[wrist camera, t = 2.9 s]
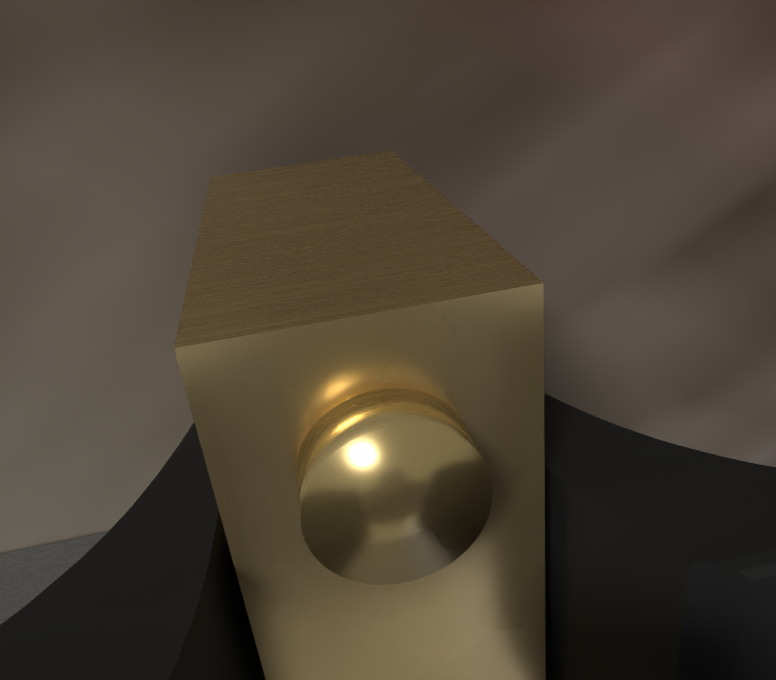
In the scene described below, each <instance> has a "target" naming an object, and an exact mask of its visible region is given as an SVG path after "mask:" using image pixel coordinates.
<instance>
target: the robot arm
mask: <svg viewBox="0 0 776 680" xmlns="http://www.w3.org/2000/svg"><path fill="white" fill-rule="evenodd" d="M544 452H545V651H546V680H776V467H770V466H764V465H759V464H754V463H749V462H744V461H739V460H735V459H730V458H725V457H721V456H717V455H713V454H709V453H706V452H702V451H698V450H694V449H690V448H686V447H682V446H678V445H675V444H672V443H668V442H665V441H661V440H658V439H655V438H652V437H649V436H646V435H643V434H640V433H637V432H635V431H632V430H629V429H626V428H623V427H620V426H617V425H615V424H612V423H609V422H607V421H604V420H602V419H599V418H597V417H595V416H592V415H590V414H588V413H586V412H583V411H581V410H579V409H576V408H574V407H572V406H570V405H567V404H565V403H563V402H561V401H559V400H557V399H555V398H553V397H551V396H549V395H547V394H545V393H544ZM0 680H266V679H265V675H264V672H263V668H262V664H261V661H260V657H259V654H258V650H257V646H256V643H255V639H254V636H253V632H252V628H251V625H250V621H249V618H248V614H247V610H246V607H245V603H244V599H243V596H242V592H241V589H240V585H239V581H238V578H237V574H236V571H235V567H234V563H233V560H232V556H231V553H230V549H229V545H228V542H227V538H226V534H225V531H224V527H223V524H222V520H221V516H220V513H219V509H218V506H217V502H216V498H215V495H214V491H213V487H212V484H211V480H210V477H209V473H208V469H207V466H206V462H205V459H204V455H203V451H202V448H201V444H200V441H199V437H198V433H197V430H196V426H195V422H194V423H193V425H192V426H191V428H190V429H189V431H188V432H187V434H186V435H185V437H184V438H183V440H182V441H181V443H180V444H179V446H178V447H177V448H176V450H175V451H174V453H173V454H172V455H171V457H170V458H169V460H168V461H167V462H166V464H165V465H164V467H163V468H162V469H161V471H160V472H159V473H158V475H157V476H156V477H155V479H154V480H153V481H152V482H151V484H150V485H149V486H148V487H147V489H146V490H145V491H144V492H143V493H142V495H141V496H140V497H139V498H138V500H137V501H136V502H135V503H134V505H133V506H132V507H131V508H130V509H129V510H128V511H127V512H126V514H125V515H124V516H123V517H122V518H121V519H120V520H119V521H118V522H117V523H116V524H115V525H114V526H113V527H112V529H111V530H110V531H109V532H107V533H106V534H105V535H104V536H103V537H102V538H101V539H100V540H99V541H98V542H97V543H96V544H95V545H94V546H93V547H92V548H91V549H90V550H89V551H88V552H87V553H86V554H85V555H84V556H83V557H82V558H81V559H80V560H79V561H78V562H76V563H75V564H74V565H73V566H72V567H70V568H69V569H68V570H67V571H66V572H65V573H63V574H62V575H61V576H60V577H59V578H58V579H56V580H55V581H54V582H53V583H52V584H50V585H49V586H48V587H47V588H46V589H45V590H43V591H42V592H41V593H40V594H39V595H38V596H36V597H35V598H34V599H33V600H32V601H30V602H29V603H28V604H27V605H26V606H24V607H23V608H22V609H21V610H19V611H18V612H17V613H15V614H14V615H13V616H11V617H10V618H9V619H7V620H6V621H5V622H3V623H2V624H1V625H0Z"/></svg>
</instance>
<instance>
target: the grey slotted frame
mask: <svg viewBox="0 0 776 680" xmlns="http://www.w3.org/2000/svg"><path fill="white" fill-rule="evenodd" d="M106 533H107V532H105V533H100V534H95V535H90V536H85V537H80V538H76V539H71V540H66V541H61V542H56V543H51V544H46V545H42V546H37V547H32V548H27V549H22V550H17V551H13V552H8V553H3V554H0V625H1V624H2V623H3V622H5V621H6V620H7V619H9V618H10V617H11V616H13V615H14V614H15V613H17V612H18V611H19V610H21V609H22V608H23V607H24V606H26V605H27V604H28V603H29V602H30V601H32V600H33V599H34V598H35V597H36V596H38V595H39V594H40V593H41V592H42V591H43V590H45V589H46V588H47V587H48V586H49V585H50V584H52V583H53V582H54V581H55V580H56V579H58V578H59V577H60V576H61V575H62V574H63V573H65V572H66V571H67V570H68V569H69V568H70V567H72V566H73V565H74V564H75V563H76V562H78V561H79V560H80V559H81V558H82V557H83V556H84V555H85V554H86V553H87V552H88V551H89V550H90V549H91V548H92V547H93V546H94V545H95V544H96V543H97V542H98V541H99V540H100V539H101V538H102V537H103V536H104V535H105V534H106Z"/></svg>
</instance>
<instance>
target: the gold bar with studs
mask: <svg viewBox="0 0 776 680" xmlns="http://www.w3.org/2000/svg"><path fill="white" fill-rule="evenodd" d="M174 350H175V354H176V357H177V361H178V365H179V368H180V372H181V376H182V379H183V383H184V386H185V390H186V394H187V397H188V401H189V404H190V408H191V412H192V415H193V419H194V422H195V426H196V430H197V433H198V437H199V441H200V444H201V448H202V451H203V455H204V459H205V462H206V466H207V469H208V473H209V477H210V480H211V484H212V487H213V491H214V495H215V498H216V502H217V506H218V509H219V513H220V516H221V520H222V524H223V527H224V531H225V534H226V538H227V542H228V545H229V549H230V553H231V556H232V560H233V563H234V567H235V571H236V574H237V578H238V581H239V585H240V589H241V592H242V596H243V599H244V603H245V607H246V610H247V614H248V618H249V621H250V625H251V628H252V632H253V636H254V639H255V643H256V646H257V650H258V654H259V657H260V661H261V664H262V668H263V672H264V675H265V679H266V680H546V651H545V452H544V283H543V282H542V281H541V280H540V279H538V278H537V277H536V276H535V275H534V274H533V273H532V272H530V271H529V270H528V269H527V268H526V267H525V266H523V265H522V264H521V263H520V262H519V261H518V260H517V259H515V258H514V257H513V256H512V255H511V254H510V253H509V252H507V251H506V250H505V249H504V248H503V247H502V246H500V245H499V244H498V243H497V242H496V241H495V240H494V239H492V238H491V237H490V236H489V235H488V234H487V233H485V232H484V231H483V230H482V229H481V228H480V227H479V226H477V225H476V224H475V223H474V222H473V221H472V220H470V219H469V218H468V217H467V216H466V215H465V214H464V213H462V212H461V211H460V210H459V209H458V208H457V207H456V206H454V205H453V204H452V203H451V202H450V201H449V200H447V199H446V198H445V197H444V196H443V195H442V194H441V193H439V192H438V191H437V190H436V189H435V188H434V187H432V186H431V185H430V184H429V183H428V182H427V181H426V180H424V179H423V178H422V177H421V176H420V175H419V174H417V173H416V172H415V171H414V170H413V169H412V168H411V167H409V166H408V165H407V164H406V163H405V162H404V161H403V160H401V159H400V158H399V157H398V156H397V155H396V154H394V153H393V152H392V151H385V152H378V153H371V154H365V155H358V156H351V157H344V158H337V159H330V160H324V161H317V162H310V163H303V164H296V165H289V166H283V167H276V168H269V169H262V170H255V171H248V172H242V173H235V174H228V175H221V176H214V177H211V178H210V183H209V188H208V192H207V197H206V202H205V206H204V211H203V216H202V220H201V225H200V229H199V234H198V239H197V243H196V248H195V253H194V257H193V262H192V267H191V271H190V276H189V281H188V285H187V290H186V294H185V299H184V304H183V308H182V313H181V318H180V322H179V327H178V332H177V336H176V341H175V346H174Z"/></svg>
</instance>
